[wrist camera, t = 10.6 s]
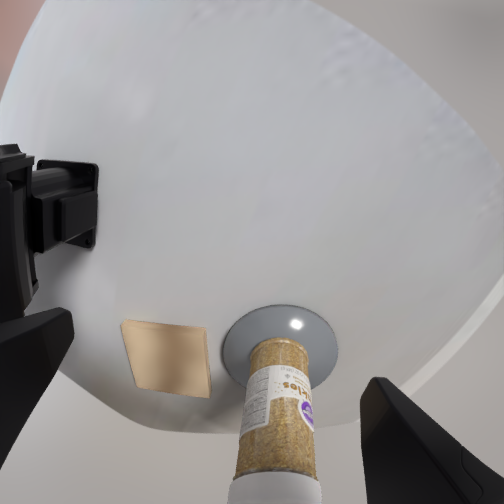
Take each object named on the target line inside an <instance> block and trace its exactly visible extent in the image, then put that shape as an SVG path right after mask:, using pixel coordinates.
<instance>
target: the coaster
mask: <svg viewBox="0 0 504 504" xmlns="http://www.w3.org/2000/svg"><path fill="white" fill-rule="evenodd" d="M277 337H280V338H289V339H292V340H294V341H296V342H298V343H300V344H301V345H302V346H303V347H304V348H305V350H306V351H307V354H308V359H309V362H308V376H309V382H310V387H311V389H313V388H315V387H316V386H318V385H319V384H321V383H322V382H323V381H324V380H325V379H326V378H327V377H328V376H329V375H330V373H331V372H332V371H333V369H334V367H335V364H336V362H337V357H338V345H337V341H336V338H335V335H334V332H333V330H332V329H331V327H330V326H329V324H328V323H327V322H326V321H325V320H324V319H323V318H322V317H320V316H319V315H317V314H316V313H314V312H312V311H310V310H308V309H305V308H302V307H298V306H293V305H270V306H266V307H262V308H259V309H256V310H254V311H251V312H249V313H248V314H246V315H244V316H243V317H241V318H240V319H239V320H238V321H237V322H236V323H235V324H234V325H233V326H232V328H231V329H230V331H229V333H228V335H227V337H226V341H225V344H224V350H223V357H224V362H225V365H226V368H227V370H228V372H229V373H230V375H231V376H232V377H233V378H234V379H235V380H236V381H237V382H238V383H239V384H240V385H242V386H243V387H245V388H246V389H247V384H248V381H249V377H250V368H251V364H250V362H251V361H250V356H251V354H252V351H253V350H254V349H255V347H256V346H258V345H259V344H260V343H261V342H263V341H265V340H267V339H271V338H277Z"/></svg>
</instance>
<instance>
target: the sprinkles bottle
mask: <svg viewBox="0 0 504 504" xmlns="http://www.w3.org/2000/svg"><path fill="white" fill-rule="evenodd" d="M250 361H251V362H250V364H251V368H250V377H249V381H248V384H247V390H246V397H245V404H244V411H243V417H242V424H241V431H240V438H239V451H238V459H237V465H236V466H237V467H236V474H235V476H234V477H233V482H232V483H231V485H230V488H229V495H228V503H227V504H322V496H321V486H320V484H319V482H318V480H317V477H316V470H315V453H314V439H313V433H314V424H313V412H312V399H311V387H310V382H309V376H308V362H309V359H308V354H307V351H306V350H305V348H304V347H303V346H302V345H301V344H300V343H298V342H296V341H294V340H292V339H289V338H280V337H277V338H271V339H267V340H265V341H263V342H261V343H260V344H259V345H258V346H256V347H255V349H254V350H253V351H252V354H251V356H250Z"/></svg>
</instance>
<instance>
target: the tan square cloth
mask: <svg viewBox="0 0 504 504" xmlns="http://www.w3.org/2000/svg"><path fill="white" fill-rule="evenodd" d="M121 329H122V333H123V338H124V342H125V346H126V349H127V353H128V357H129V361H130V364H131V368H132V371H133V375H134V378H135V381H136V385H137V387H139V388H144V389H149V390H155V391H160V392H166V393H173V394H179V395H186V396H194V397H202V398H210V396H211V392H212V389H211V379H210V370H209V359H208V349H207V337H206V328H200V327H188V326H178V325H168V324H158V323H150V322H141V321H133V320H125V321H124V322H123V323H122V325H121Z"/></svg>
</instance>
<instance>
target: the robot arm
mask: <svg viewBox="0 0 504 504" xmlns="http://www.w3.org/2000/svg"><path fill="white" fill-rule="evenodd" d="M34 157H35V156H26V153H22V152H21V151H20V149H19V147H18V145H17V144H6V145H0V469H1V467H2V465H3V463H4V462H5V460H6V458H7V455H8V453H9V452H10V450H11V448H12V446H13V444H14V443H15V441H16V439H17V437H18V435H19V433H20V432H21V430H22V428H23V426H24V425H25V423H26V421H27V419H28V418H29V416H30V414H31V412H32V411H33V409H34V408H35V406H36V404H37V403H38V401H39V400H40V398H41V396H42V395H43V393H44V392H45V390H46V388H47V387H48V385H49V384H50V382H51V381H52V379H53V377H54V375H55V374H56V372H57V370H58V368H59V366H60V364H61V362H62V360H63V358H64V356H65V354H66V353H67V351H68V349H69V347H70V345H71V343H72V341H73V339H74V327H73V320H72V314H71V312H70V311H69V310H66V309H64V308H60V307H58V308H54V309H51V310H47V311H43V312H40V313H36V314H33V315H29V316H25V312H24V310H25V309H26V307H27V306H28V305H29V303H30V302H31V300H32V297H33V295H34V294H35V292H36V291H37V289H38V288H39V286H38V280H37V279H36V273H35V264H34V257H35V256H37V255H39V254H41V253H44V252H46V251H48V250H50V249H52V248H54V247H56V246H57V245H59V244H61V243H68V244H72V245H76V246H80V247H84V248H91V247H93V246H94V245H95V226H96V220H97V198H98V194H97V184H98V172H99V168H98V166H97V165H96V164H94V163H85V162H74V161H61V160H46V159H43V160H39V161H38V163H37V170H36V171H32V165H34ZM42 165H43V167H42ZM91 168H93V173H92V172H91ZM88 240H89V241H90V244H89V243H88ZM24 316H25V317H24ZM360 421H361V449H362V457H363V466H364V474H365V484H366V493H367V504H504V478H503V477H501V476H500V475H499V474H497V473H496V472H495V471H493V470H492V469H490V468H489V467H488V466H486V465H485V464H484V463H482V462H481V461H480V460H479V459H478V458H476V457H475V456H474V455H473V454H472V453H470V452H469V451H468V450H467V449H466V448H465V447H464V446H462V445H461V444H460V443H459V442H458V441H457V440H455V438H453V437H452V436H451V435H450V434H449V433H448V432H447V431H445V430H444V429H443V428H442V427H441V426H440V425H439V424H438V423H436V422H435V421H434V420H433V419H432V418H431V417H430V416H429V415H427V414H426V413H425V412H424V411H423V410H422V409H421V408H420V407H418V406H417V405H416V404H415V403H414V402H413V401H412V400H410V399H409V398H408V397H407V396H406V395H405V394H404V393H403V392H402V391H400V390H399V389H398V388H397V387H396V386H395V385H394V384H393V383H391V382H390V381H389V380H388V379H387V378H385V377H373V378H372V379H371V380H370V382H369V383H368V385H367V387H366V389H365V391H364V392H363V394H362V396H361V399H360Z"/></svg>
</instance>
